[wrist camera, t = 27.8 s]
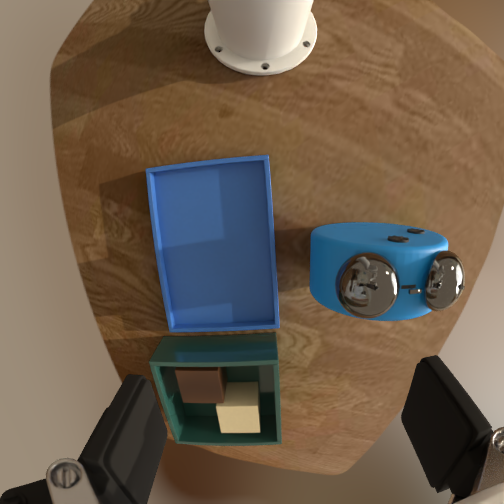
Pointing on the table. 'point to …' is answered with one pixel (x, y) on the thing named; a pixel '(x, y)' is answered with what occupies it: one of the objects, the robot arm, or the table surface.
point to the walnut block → (202, 384)
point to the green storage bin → (238, 370)
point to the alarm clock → (383, 270)
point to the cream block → (240, 408)
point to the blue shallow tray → (215, 244)
